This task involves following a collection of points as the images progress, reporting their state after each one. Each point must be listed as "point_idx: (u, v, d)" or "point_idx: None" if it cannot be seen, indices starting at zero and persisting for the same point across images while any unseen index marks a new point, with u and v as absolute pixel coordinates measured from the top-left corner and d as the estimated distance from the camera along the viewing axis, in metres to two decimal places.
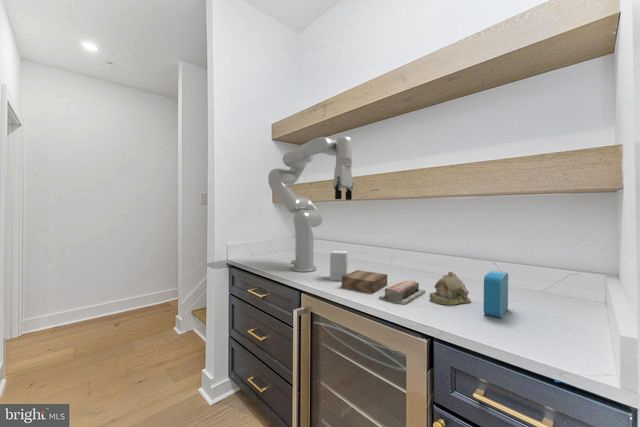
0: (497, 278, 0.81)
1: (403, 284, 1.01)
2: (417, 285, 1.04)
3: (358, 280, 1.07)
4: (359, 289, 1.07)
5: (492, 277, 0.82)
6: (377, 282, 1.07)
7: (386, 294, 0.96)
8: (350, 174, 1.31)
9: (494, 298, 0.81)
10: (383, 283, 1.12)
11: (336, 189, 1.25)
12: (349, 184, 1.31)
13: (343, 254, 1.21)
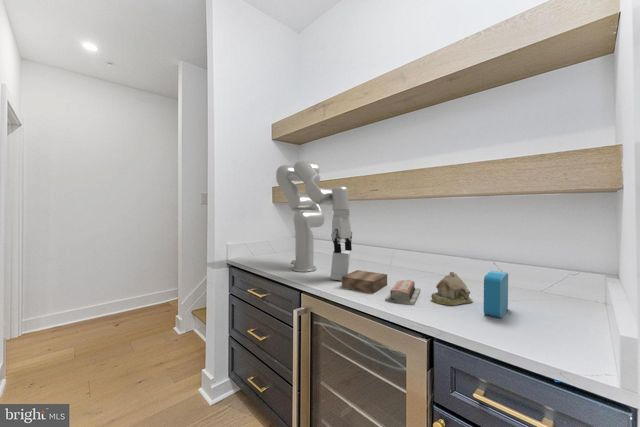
0: (497, 278, 0.81)
1: (403, 284, 1.01)
2: (414, 284, 1.05)
3: (358, 280, 1.07)
4: (359, 289, 1.07)
5: (492, 277, 0.82)
6: (377, 282, 1.07)
7: (393, 296, 0.94)
8: (348, 224, 1.25)
9: (494, 298, 0.81)
10: (383, 283, 1.12)
11: (335, 243, 1.19)
12: (348, 235, 1.25)
13: (346, 254, 1.20)
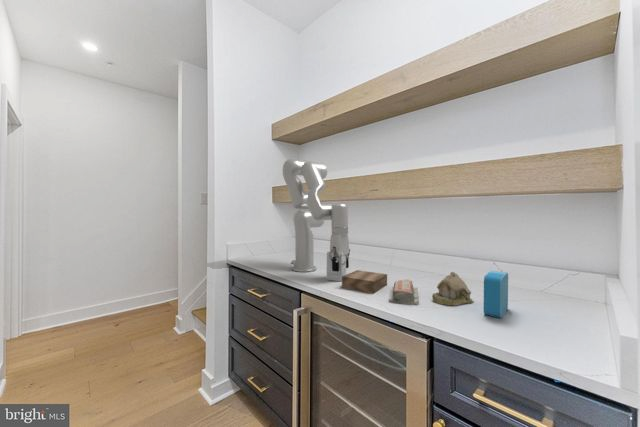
0: (497, 278, 0.81)
1: (404, 284, 1.02)
2: None
3: (358, 280, 1.07)
4: (359, 289, 1.07)
5: (492, 277, 0.82)
6: (378, 282, 1.07)
7: (397, 296, 0.93)
8: (347, 241, 1.25)
9: (494, 298, 0.81)
10: (383, 283, 1.12)
11: (333, 261, 1.20)
12: (346, 252, 1.25)
13: None
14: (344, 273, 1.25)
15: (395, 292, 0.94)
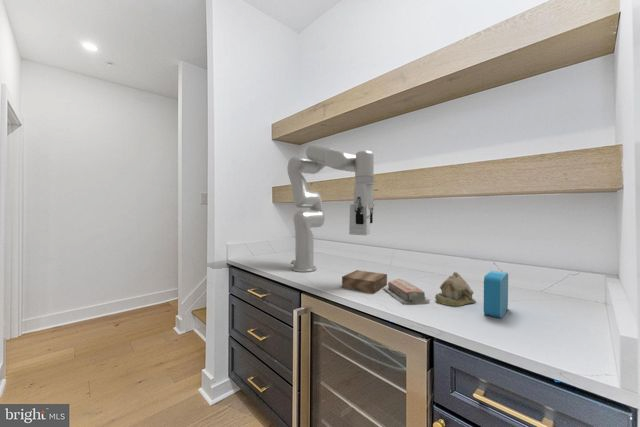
0: (497, 278, 0.81)
1: (404, 284, 1.02)
2: None
3: (359, 280, 1.07)
4: (360, 289, 1.07)
5: (492, 277, 0.82)
6: (378, 282, 1.07)
7: (411, 297, 0.92)
8: (372, 193, 1.14)
9: (494, 298, 0.81)
10: (383, 283, 1.12)
11: (357, 213, 1.09)
12: (371, 205, 1.14)
13: None
14: (368, 228, 1.13)
15: (408, 293, 0.93)
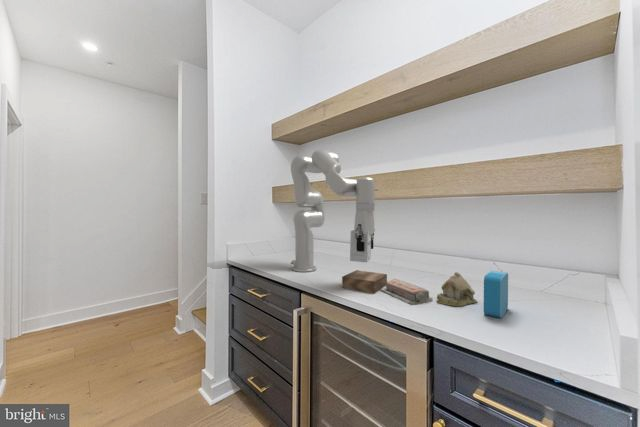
0: (497, 278, 0.81)
1: (404, 284, 1.02)
2: None
3: (359, 280, 1.07)
4: (360, 289, 1.07)
5: (492, 277, 0.82)
6: (378, 282, 1.07)
7: (418, 297, 0.93)
8: (372, 219, 1.14)
9: (494, 298, 0.81)
10: (383, 283, 1.12)
11: (358, 240, 1.08)
12: (372, 231, 1.14)
13: None
14: (369, 254, 1.13)
15: (415, 293, 0.93)
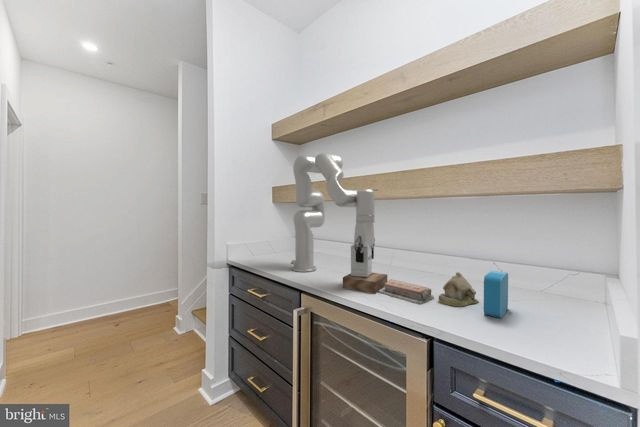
0: (497, 278, 0.81)
1: (404, 284, 1.02)
2: None
3: (359, 281, 1.07)
4: (360, 290, 1.07)
5: (492, 277, 0.82)
6: (379, 283, 1.07)
7: (424, 296, 0.94)
8: (372, 231, 1.14)
9: (494, 298, 0.81)
10: None
11: (357, 251, 1.08)
12: (372, 243, 1.14)
13: (364, 247, 1.10)
14: (370, 268, 1.13)
15: (421, 292, 0.94)
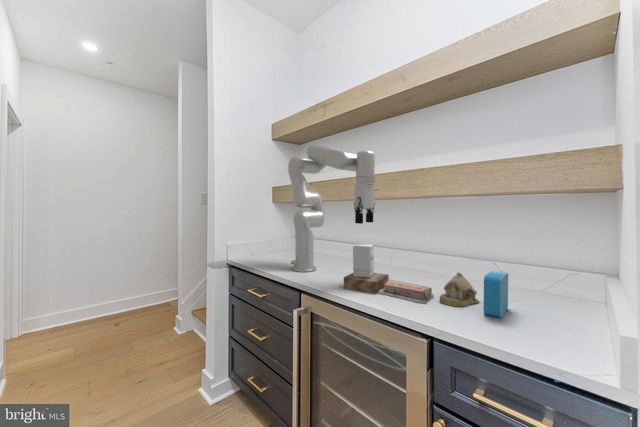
0: (497, 278, 0.81)
1: (404, 284, 1.02)
2: None
3: (361, 281, 1.07)
4: (362, 290, 1.07)
5: (492, 277, 0.82)
6: (380, 283, 1.07)
7: (427, 295, 0.94)
8: (372, 194, 1.14)
9: (494, 298, 0.81)
10: None
11: (357, 212, 1.08)
12: (371, 205, 1.14)
13: (367, 247, 1.09)
14: (372, 269, 1.13)
15: (424, 292, 0.94)
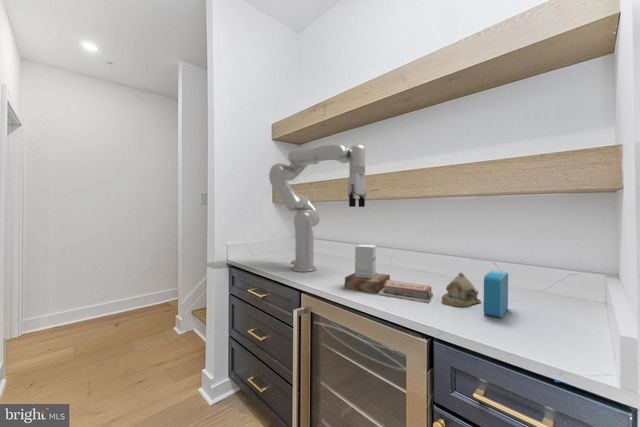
0: (497, 278, 0.81)
1: (404, 284, 1.02)
2: None
3: (362, 281, 1.07)
4: (363, 290, 1.06)
5: (492, 277, 0.82)
6: (381, 283, 1.06)
7: (429, 294, 0.96)
8: (363, 182, 1.33)
9: (494, 298, 0.81)
10: None
11: (350, 197, 1.28)
12: (363, 192, 1.33)
13: (369, 248, 1.08)
14: (374, 269, 1.12)
15: (427, 291, 0.95)
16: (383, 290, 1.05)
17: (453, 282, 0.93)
